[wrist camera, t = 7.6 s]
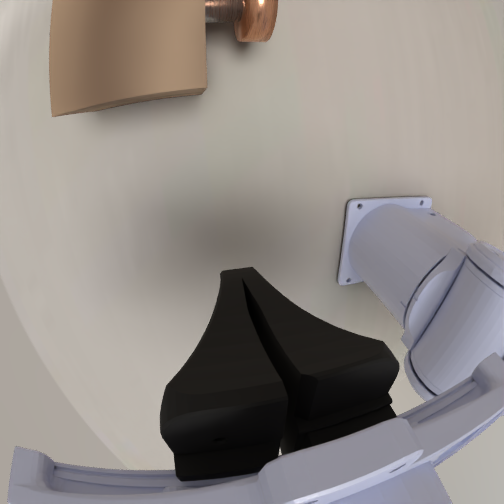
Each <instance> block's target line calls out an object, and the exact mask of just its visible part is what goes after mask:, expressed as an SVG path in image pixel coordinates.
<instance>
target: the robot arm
mask: <svg viewBox="0 0 504 504" xmlns="http://www.w3.org/2000/svg"><path fill="white" fill-rule="evenodd" d="M420 201H421V203H420ZM358 204H360V206H359V207H358V208H357V206H358ZM431 204H432V199H431V198H430V197H428V196H420V197H391V198H369V199H353V200H350V201H349V202H348V204H347V211H346V221H345V229H344V237H343V245H342V253H341V260H340V267H339V273H338V280H337V281H338V283H339V285H341V286H343V285H349V284H354V283H359V282H365V283H366V284H367V285H368V286H369V288H370V289H371V290H372V291H373V292H374V293H375V295H376V296H377V297H378V298H379V299H380V300H381V302H382V303H383V304H384V305H385V306H386V308H387V309H388V310H389V311H390V312H391V314H392V315H393V316H394V317H395V318H396V320H397V321H398V322H399V323H400V325H401V326H402V327H403V328H404V330H405V332H404V334H403V336H402V338H401V341H402V342H403V343H404V344H405V346H406V347H407V348H408V350H409V351H408V352H407V353H406V355H405V359H404V368H405V372H406V375H407V377H408V379H409V381H410V384H411V385H412V387H413V388H414V390H415V391H416V393H417V394H418V395H419V396H420V397H421V398H422V399H424V400H425V401H426V402H425V403H423V404H421V405H419V406H417V407H415V408H413V409H411V410H409V411H407V412H404V413H402V414H400V415H398V416H396V414H395V412H394V411H393V409H392V407H391V406H390V404H391V403H392V398H391V397H390V395H389V393H388V392H389V390H390V388H391V386H392V385H393V383H394V381H395V379H396V377H397V374H398V372H399V362H398V361H397V360H396V358H395V357H394V355H393V353H392V352H391V350H390V349H389V348H388V347H387V345H386V344H385V343H384V342H383V341H380V340H376V339H372V338H369V337H365V336H361V335H358V334H355V333H352V332H349V331H346V330H343V329H341V328H338V327H336V326H334V325H331V324H329V323H327V322H325V321H323V320H321V319H319V318H317V317H315V316H313V315H311V314H310V313H308V312H306V311H305V310H303V309H301V308H300V307H298V306H297V305H295V304H294V303H293V302H291V301H290V300H289V299H287V298H286V297H285V296H284V295H282V294H281V293H280V292H279V291H278V290H276V289H275V288H274V287H273V286H272V285H271V284H270V283H269V282H268V281H266V280H265V279H264V278H263V277H262V276H261V275H260V274H259V273H258V272H257V271H256V270H255V269H254V268H253V267H248V268H240V269H233V270H225V271H222V272H221V273H220V278H221V282H220V289H219V294H218V298H217V302H216V305H215V308H214V311H213V314H212V317H211V319H210V322H209V324H208V326H207V328H206V330H205V332H204V334H203V336H202V338H201V340H200V342H199V343H198V345H197V347H196V348H195V350H194V352H193V353H192V354H191V356H190V357H189V359H188V360H187V362H186V363H185V364H184V366H183V367H182V368H181V369H180V371H179V372H178V373H177V374H176V375H175V376H174V377H173V379H172V380H171V381H170V382H169V383H168V384H167V385H166V388H165V392H164V395H163V400H162V404H161V411H160V433H161V435H162V438H163V439H164V441H165V442H166V444H167V445H168V446H169V448H170V449H171V451H172V452H173V453H174V462H175V470H119V469H105V468H94V467H85V466H77V465H70V464H64V463H58V462H54V461H53V460H52V459H51V458H50V457H48V456H47V455H45V454H44V453H41V452H39V451H36V450H31V449H27V448H23V447H19V446H16V447H15V450H14V455H13V461H12V467H11V473H10V481H9V490H8V501H7V502H8V504H452V501H451V499H450V498H449V496H448V494H447V492H446V490H445V488H444V486H443V484H442V482H441V480H440V478H439V477H438V475H437V473H436V471H435V469H434V467H436V466H437V465H439V464H440V463H442V462H443V461H445V460H446V459H448V458H449V457H450V456H452V455H453V454H455V453H456V452H457V451H458V450H460V449H461V448H463V447H464V446H465V445H467V444H468V443H469V442H470V441H472V440H473V439H474V438H475V437H477V436H478V435H479V434H480V433H482V432H483V431H484V430H485V429H486V428H488V427H489V426H490V425H491V424H492V423H493V422H495V420H497V419H498V418H499V417H500V416H503V415H504V252H503V251H501V250H500V249H498V248H496V247H495V246H493V245H491V244H489V243H487V242H484V241H478V242H477V240H476V239H475V237H474V236H473V235H472V234H471V233H469V232H468V231H466V230H465V229H463V228H462V227H460V226H459V225H457V224H455V223H454V222H452V221H451V220H449V219H447V218H446V217H444V216H443V215H441V214H439V213H438V212H436V211H434V210H433V209H431ZM348 278H349V279H348ZM347 279H348V280H347ZM279 448H281V453H282V455H280V456H278V455H279Z"/></svg>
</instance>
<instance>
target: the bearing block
mask: <svg viewBox="0 0 504 504" xmlns="http://www.w3.org/2000/svg"><path fill="white" fill-rule="evenodd" d="M49 76H50V97H51V110H52V117H56V116H62V115H69V114H76V113H84V112H93V111H98V110H103V109H107V108H112V107H117V106H122V105H127V104H132V103H138V102H143V101H150V100H156V99H163V98H171V97H179V96H188V95H199V94H202V93H203V92H204V91H205V90H206V88H207V67H206V32H205V0H53V4H52V14H51V26H50V47H49Z"/></svg>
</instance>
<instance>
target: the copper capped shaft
mask: <svg viewBox="0 0 504 504" xmlns="http://www.w3.org/2000/svg"><path fill="white" fill-rule="evenodd" d="M277 9H278V0H205V23H213V22H234V29H235V35H236V38H237V40H238V41H239V42H267V41H268V40H269V39H270V37H271V35H272V33H273V30H274V26H275V22H276V17H277Z"/></svg>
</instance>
